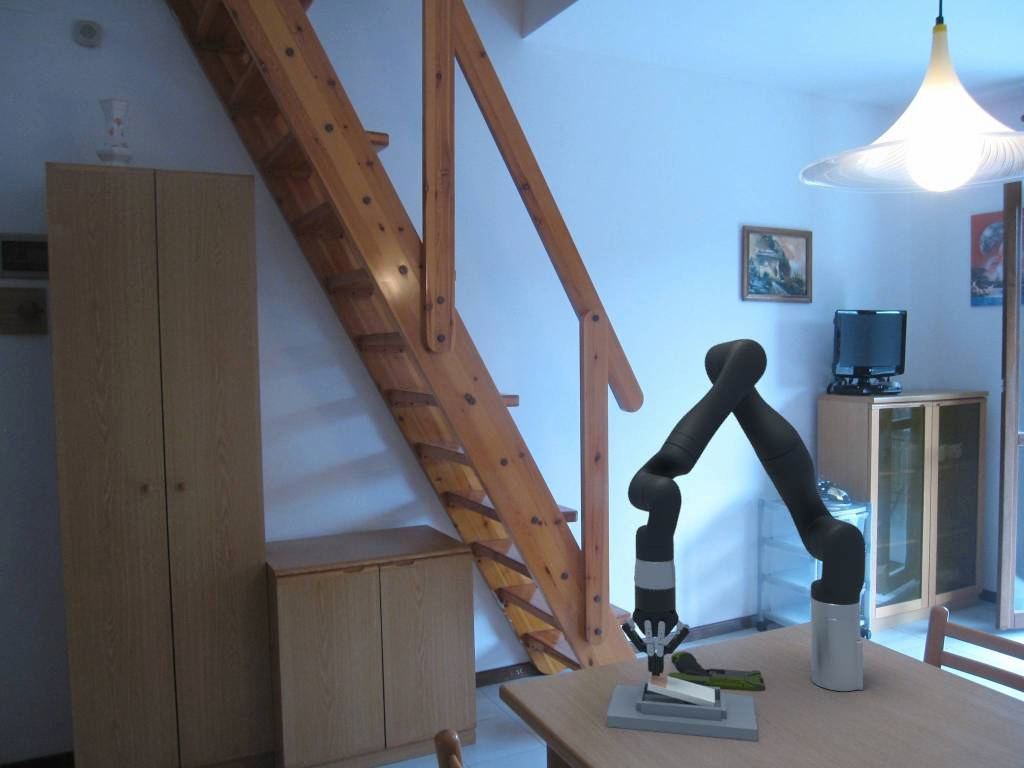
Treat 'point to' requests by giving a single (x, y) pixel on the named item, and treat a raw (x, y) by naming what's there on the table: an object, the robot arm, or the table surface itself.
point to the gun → (715, 675)
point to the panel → (682, 713)
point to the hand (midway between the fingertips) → (655, 674)
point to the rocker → (682, 690)
